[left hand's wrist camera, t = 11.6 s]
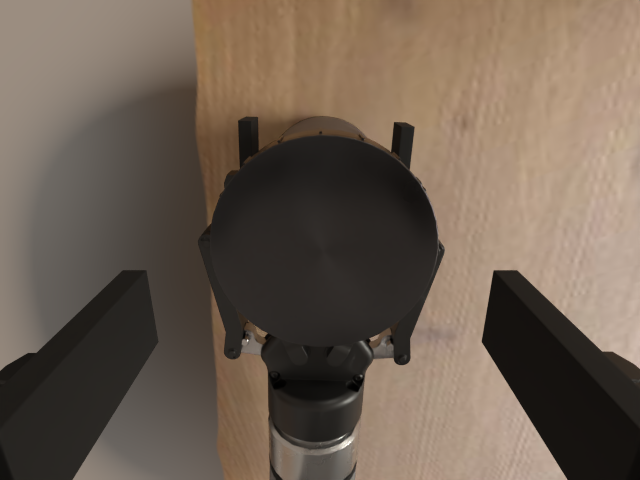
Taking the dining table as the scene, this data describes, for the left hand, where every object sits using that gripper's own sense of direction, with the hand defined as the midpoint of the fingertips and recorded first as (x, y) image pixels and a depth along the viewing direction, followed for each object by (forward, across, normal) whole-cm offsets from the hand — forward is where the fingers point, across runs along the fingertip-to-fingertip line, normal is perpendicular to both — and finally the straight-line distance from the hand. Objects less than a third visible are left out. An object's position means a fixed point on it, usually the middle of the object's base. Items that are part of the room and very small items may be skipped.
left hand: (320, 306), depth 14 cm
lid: (+5, 0, 0) cm, 5 cm away
